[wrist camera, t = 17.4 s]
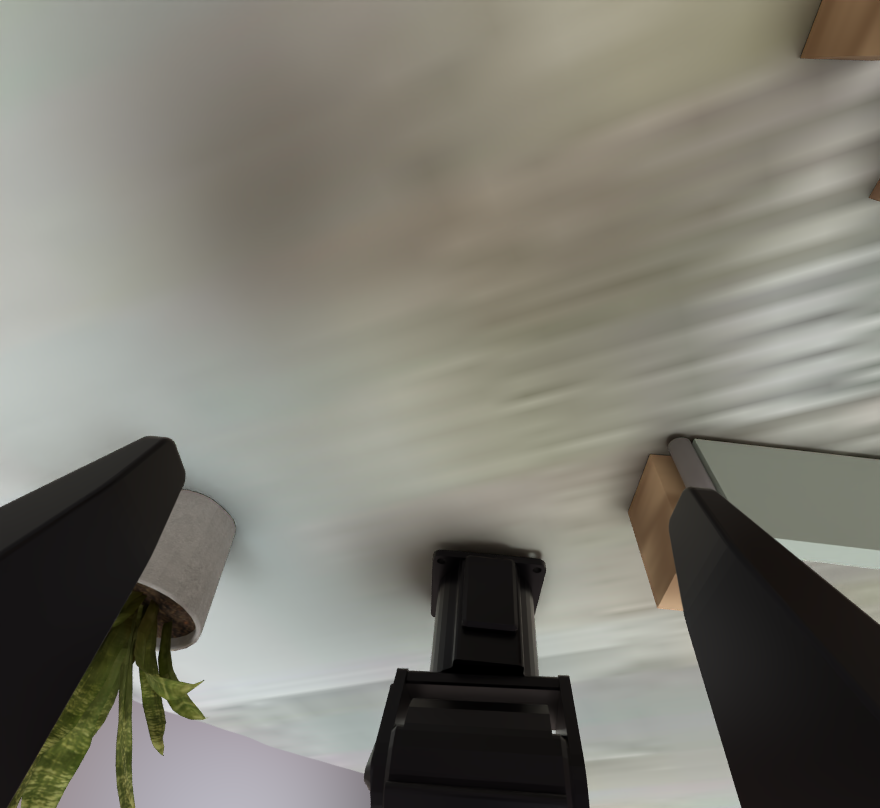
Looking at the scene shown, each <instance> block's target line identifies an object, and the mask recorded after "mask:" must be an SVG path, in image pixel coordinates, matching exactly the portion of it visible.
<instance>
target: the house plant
mask: <svg viewBox="0 0 880 808" xmlns="http://www.w3.org/2000/svg"><path fill="white" fill-rule="evenodd" d="M235 530H236V526H235V523H234V520H233V519H232V517H231V516H230V515H229V514H228V513H227V512H226V511H225V510H224V509H223V508H222V507H221V506H220V505H219V504H217V503H216V502H215V501H213V500H212V499H211V498H209V497H206V496H204V495H202V494H200V493H196V492H192V491H189V490H181V492H180V494H179V496H178V499H177V501H176V503H175V505H174V508H173V510H172V512H171V514H170V517H169V519H168V521H167V523H166V526H165V528H164V530H163V532H162V535H161V537H160V539H159V541H158V544H157V546H156V548H155V550H154V552H153V554H152V556H151V558H150V560H149V562H148V564H147V566H146V568H145V569H144V571H143V573H142V575H141V577H140V578H139V580H138V582H137V584H136V585H135V587H134V589H133V590H132V592H131V594H130V596H129V597H128V599H127V601H126V603H125V604H124V606H123V608H122V610H121V611H120V613H119V615H118V617H117V618H116V620H115V622H114V623H113V625H112V627H111V629H110V630H109V632H108V634H107V636H106V637H105V639H104V641H103V643H102V644H101V646H100V648H99V650H98V651H97V653H96V655H95V656H94V658H93V660H92V662H91V663H90V665H89V667H88V669H87V670H86V672H85V674H84V676H83V677H82V679H81V681H80V682H79V684H78V686H77V688H76V689H75V691H74V693H73V695H72V696H71V698H70V700H69V702H68V703H67V705H66V707H65V709H64V710H63V712H62V714H61V715H60V717H59V719H58V721H57V722H56V724H55V726H54V728H53V729H52V731H51V733H50V735H49V736H48V738H47V740H46V742H45V743H44V745H43V747H42V748H41V750H40V752H39V754H38V755H37V757H36V759H35V761H34V762H33V764H32V766H31V768H30V769H29V771H28V773H27V775H26V776H25V778H24V780H23V781H22V783H21V785H20V787H19V788H18V790H17V792H16V794H15V795H14V797H13V799H12V801H11V802H10V804H9V806H8V808H17V805H18V803H19V801H20V799H21V797H22V802H21V808H56V807H57V804H58V802H59V801H60V799H61V797H62V795H63V793H64V791H65V789H66V787H67V785H68V783H69V782H70V780H71V779H72V777H73V775H74V774H75V772H76V770H77V769H78V767H79V765H80V763H81V762H82V760H83V758H84V756H85V754H86V753H87V751H88V749H89V747H90V744H91V740H92V737H93V736H94V735H95V733H96V732H97V731H98V730H99V728H100V727H101V726H102V724H103V723H104V721H105V719H106V717H107V715H108V713H109V711H110V710H111V708H112V706H113V704H114V701H115V698H116V696H117V693H118V690H119V723H118V733H117V742H116V777H117V789H118V794H119V801H120V807H121V808H135V803H134V795H133V786H132V720H131V719H132V717H131V715H132V668H133V663H134V661H136V665H137V666H138V667H139V675H140V683H141V690H142V702H143V708H144V712H145V717H146V721H147V725H148V729H149V733H150V737H151V741H152V744H153V746H154V747H155V749H156V750H157V751H158V752H159V753H160V754H161V755H163V751H164V744H163V734H164V731H165V724H166V720H165V714H164V709H163V704H162V698H161V697H163V698H164V699H166V700H167V702H168V703H169V705H170V706H171V708H172V710H173V711H175V712H176V713H178V714H179V715H180V716H183V717H185V718H188V719H191V720H203V719H206V718H205V717H204V715H203V714H202V713H201V711H200V710H199V709H198V708H197V707H196V705H195V704H194V703H193V702H192V700H191V699H190V698H189V696H188V695H187V693H188V692H190V691H191V690H192V689H194V688H195V687H196V686H198V685H199V684H200V683H202V682H203V681H204V680H203V681H201V682H198V683H196V684H189V683H184V682H179V681H178V679H177V677H176V675H175V673H174V671H173V667H172V659H171V652H170V651H176V650H180V649H184V648H187V647H189V646H191V645H192V644H194V643H196V642H197V640H198V639H199V637H200V635H201V633H202V630H203V627H204V624H205V621H206V618H207V615H208V612H209V609H210V607H211V604H212V601H213V598H214V595H215V592H216V589H217V586H218V583H219V580H220V577H221V574H222V571H223V568H224V565H225V562H226V559H227V556H228V554H229V551H230V548H231V545H232V542H233V539H234V536H235ZM155 651H159V656H158V665H159V671H158V666H157V660H156V652H155ZM163 756H164V755H163ZM25 788H26V789H25Z"/></svg>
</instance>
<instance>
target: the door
mask: <svg viewBox="0 0 880 808" xmlns="http://www.w3.org/2000/svg"><path fill="white" fill-rule="evenodd" d="M668 450H669V452H670V454H671V456H672V459H673V461H674V463H675V465H676V467H677V469H678V472H679V474H680V476H681V478H682V480H683V482H684V485H685V487H686V488H687V487H690V486H694V487H705V488H711V489H714V490H715V491H717V492H718V493H719V494H721V495H722V496H723V497H724V498H725V499H727V500H728V501H729V502H730V503H732V504H733V505H734V506H735V507H736V508H738V509H739V510H740V511H741V512H743V513H744V514H745V515H746V516H747V517H749V518H750V519H751V520H752V521H754V522H755V523H756V524H757V525H759V526H760V527H761V528H762V529H763V530H765V531H766V532H767V533H768V534H770V535H771V536H772V537H773V538H774V539H776V540H777V541H778V542H779V543H781V544H782V545H783V546H784V547H785V548H787V549H788V550H789V551H790V552H792V553H793V554H794V555H795V556H796V557H798V558H799V559H800V560H804V561H813V562H821V563H829V564H838V565H846V566H855V567H863V568H871V569H880V460H879V459H870V458H861V457H852V456H843V455H834V454H825V453H817V452H808V451H799V450H790V449H781V448H772V447H763V446H754V445H746V444H737V443H728V442H719V441H710V440H701V439H694V440H693V442H692V444H691V442H690V440H689V439H687V438H683V437H680V438H676V439H674V440H672V441H671V442H670V443H669V444H668Z"/></svg>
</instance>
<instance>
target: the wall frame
mask: <svg viewBox="0 0 880 808" xmlns="http://www.w3.org/2000/svg"><path fill="white" fill-rule="evenodd" d="M801 58H808V59H839V60H870V61H874V60H880V0H822V2H821V5H820V8H819V10H818V13H817V15H816V18H815V21H814V23H813V26H812V29H811V31H810V34H809V37H808V39H807V42H806V44H805V47H804V50H803V52H802V55H801ZM685 488H686V487H685V485H684V482H683V480H682V478H681V476H680V474H679V472H678V469H677V467H676V465H675V463H674V461H673V459H672V456H664V455H652V454H650V456H649V458H648V461H647V464H646V466H645V469H644V472H643V474H642V477H641V479H640V482H639V485H638V487H637V490H636V493H635V495H634V498H633V501H632V503H631V506H630V508H629V511H628V514H629V517H630V521H631V524H632V527H633V530H634V534H635V537H636V540H637V543H638V547H639V550H640V553H641V556H642V560H643V563H644V566H645V569H646V573H647V576H648V579H649V583H650V586H651V589H652V592H653V596H654V599H655V602H656V605H657V608H660V609H671V610H681V611H683V607H682V602H681V597H680V591H679V586H678V580H677V575H676V569H675V563H674V558H673V552H672V547H671V541H670V536H669V520H670V517H671V515H672V512H673V510H674V508H675V506H676V504H677V502H678V500H679V498H680V496H681V494H682V492H683V490H684V489H685Z"/></svg>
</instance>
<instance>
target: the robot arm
mask: <svg viewBox="0 0 880 808" xmlns="http://www.w3.org/2000/svg"><path fill="white" fill-rule="evenodd" d="M184 482H185V469H184V466H183V464H182V461H181V458H180V455H179V453H178V450H177V447H176V445H175V443H174V441H173V440H172V439H170V438H167V437H158V436H146V437H143V438H141V439H139V440H137V441H135V442H133V443H131V444H129V445H127V446H125V447H123V448H121V449H119V450H116V451H114V452H112V453H110V454H108V455H106V456H104V457H102V458H100V459H98V460H96V461H94V462H92V463H90V464H88V465H86V466H84V467H82V468H80V469H78V470H75V471H73V472H71V473H69V474H67V475H65V476H63V477H61V478H59V479H57V480H55V481H53V482H51V483H49V484H47V485H45V486H43V487H41V488H39V489H37V490H34V491H32V492H30V493H28V494H26V495H24V496H22V497H20V498H18V499H16V500H14V501H12V502H10V503H8V504H6V505H4V506H2V507H0V808H8V806H9V804H10V802H11V801H12V799H13V797H14V795H15V794H16V792H17V790H18V788H19V787H20V785H21V783H22V781H23V780H24V778H25V776H26V775H27V773H28V771H29V769H30V768H31V766H32V764H33V762H34V761H35V759H36V757H37V755H38V754H39V752H40V750H41V748H42V747H43V745H44V743H45V742H46V740H47V738H48V736H49V735H50V733H51V731H52V729H53V728H54V726H55V724H56V722H57V721H58V719H59V717H60V715H61V714H62V712H63V710H64V709H65V707H66V705H67V703H68V702H69V700H70V698H71V696H72V695H73V693H74V691H75V689H76V688H77V686H78V684H79V682H80V681H81V679H82V677H83V676H84V674H85V672H86V670H87V669H88V667H89V665H90V663H91V662H92V660H93V658H94V656H95V655H96V653H97V651H98V650H99V648H100V646H101V644H102V643H103V641H104V639H105V637H106V636H107V634H108V632H109V630H110V629H111V627H112V625H113V623H114V622H115V620H116V618H117V617H118V615H119V613H120V611H121V610H122V608H123V606H124V604H125V603H126V601H127V599H128V597H129V596H130V594H131V592H132V590H133V589H134V587H135V585H136V584H137V582H138V580H139V578H140V577H141V575H142V573H143V571H144V569H145V568H146V566H147V564H148V562H149V560H150V558H151V556H152V554H153V552H154V550H155V548H156V546H157V544H158V541H159V539H160V537H161V535H162V532H163V530H164V528H165V526H166V523H167V521H168V519H169V517H170V514H171V512H172V510H173V508H174V505H175V503H176V501H177V499H178V496H179V494H180V492H181V490H182V487H183V485H184ZM669 536H670V541H671V547H672V552H673V558H674V563H675V569H676V575H677V580H678V586H679V591H680V597H681V602H682V607H683V612H684V616H685V620H686V624H687V627H688V631H689V634H690V638H691V641H692V644H693V648H694V651H695V654H696V658H697V661H698V664H699V668H700V671H701V674H702V678H703V681H704V684H705V688H706V691H707V694H708V698H709V701H710V704H711V708H712V711H713V714H714V718H715V721H716V724H717V728H718V731H719V734H720V738H721V741H722V744H723V748H724V751H725V754H726V758H727V761H728V764H729V768H730V771H731V775H732V778H733V781H734V785H735V788H736V791H737V795H738V798H739V801H740V805H741V808H880V624H878V623H877V622H876V621H875V620H873V619H872V618H871V617H870V616H869V615H867V614H866V613H865V612H864V611H862V610H861V609H860V608H859V607H858V606H856V605H855V604H854V603H853V602H851V601H850V600H849V599H848V598H847V597H845V596H844V595H843V594H842V593H840V592H839V591H838V590H837V589H836V588H834V587H833V586H832V585H831V584H829V583H828V582H827V581H826V580H825V579H823V578H822V577H821V576H820V575H818V574H817V573H816V572H815V571H814V570H812V569H811V568H810V567H809V566H807V565H806V564H805V563H804V562H803V561H801V560H800V559H799V558H798V557H796V556H795V555H794V554H793V553H792V552H790V551H789V550H788V549H787V548H785V547H784V546H783V545H782V544H781V543H779V542H778V541H777V540H776V539H774V538H773V537H772V536H771V535H770V534H768V533H767V532H766V531H765V530H763V529H762V528H761V527H760V526H759V525H757V524H756V523H755V522H754V521H752V520H751V519H750V518H749V517H747V516H746V515H745V514H744V513H743V512H741V511H740V510H739V509H738V508H736V507H735V506H734V505H733V504H732V503H730V502H729V501H728V500H727V499H725V498H724V497H723V496H722V495H721V494H719V493H718V492H717V491H715V490H714V489H711V488H705V487H694V486H690V487H687V488H685V489H684V490H683V492H682V494H681V496H680V498H679V500H678V502H677V504H676V506H675V508H674V510H673V512H672V515H671V517H670V520H669ZM545 573H546V565H545V562H544V561H543V560H541V559H534V558H524V557H513V556H502V555H491V554H481V553H470V552H459V551H449V550H437V551H435V552H434V554H433V569H432V601H431V615H432V616H433V617H435V626H434V636H433V646H432V655H431V665H430V672H428V671H409V670H408V669H404V668H398V669H397V672H396V676H395V680H394V683H393V684H391V685H390V690H389V694H388V698H387V702H386V705H385V709H384V713H383V717H382V721H381V724H380V728H379V732H378V736H377V740H376V743H375V745H374V748H373V750H372V753H371V755H370V758H369V760H368V763H367V765H366V768H365V773H364V782H365V784H366V785H367V787H368V789H369V790H370V796H371V808H590V807H589V796H588V787H587V778H586V770H585V764H584V757H583V751H582V746H581V740H580V734H579V729H578V723H577V717H576V712H575V706H574V700H573V695H572V689H571V683H570V678H569V676H567V675H558V677H543V676H539V670H538V657H537V644H536V631H535V618H534V615H535V612H536V608H537V604H538V600H539V596H540V592H541V588H542V585H543V581H544V577H545ZM552 730H556V734H552Z"/></svg>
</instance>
